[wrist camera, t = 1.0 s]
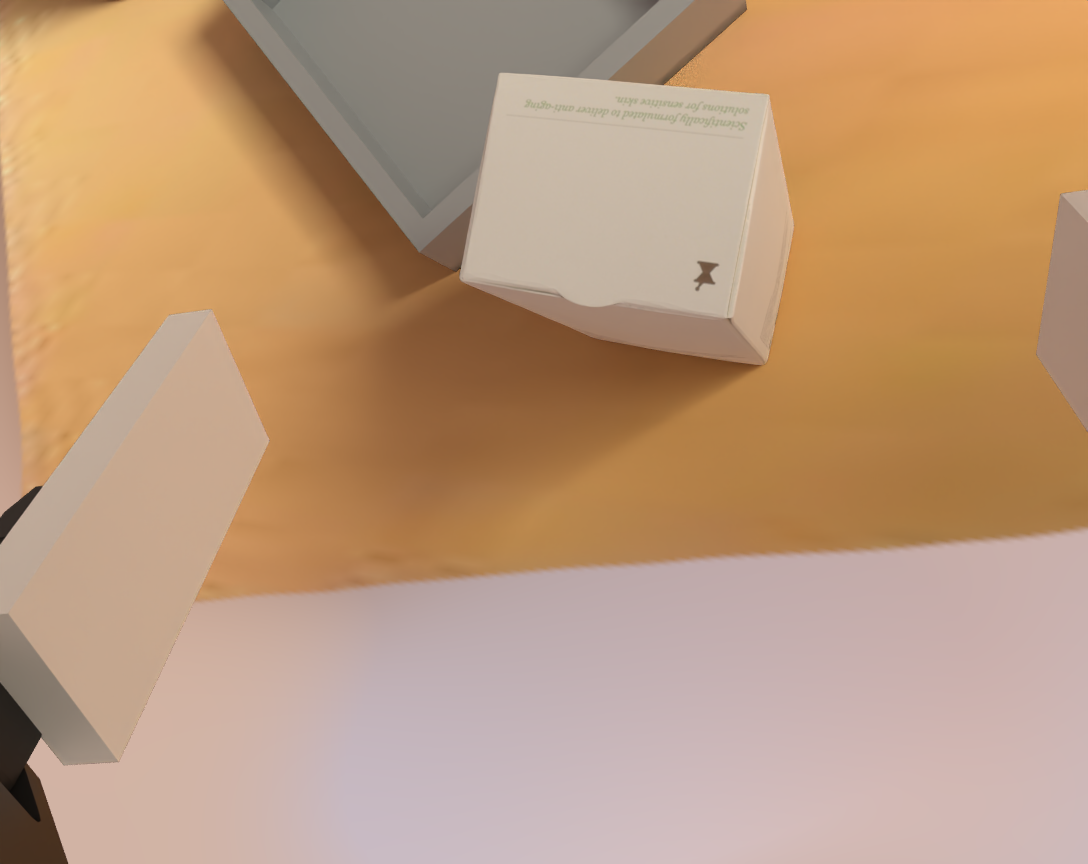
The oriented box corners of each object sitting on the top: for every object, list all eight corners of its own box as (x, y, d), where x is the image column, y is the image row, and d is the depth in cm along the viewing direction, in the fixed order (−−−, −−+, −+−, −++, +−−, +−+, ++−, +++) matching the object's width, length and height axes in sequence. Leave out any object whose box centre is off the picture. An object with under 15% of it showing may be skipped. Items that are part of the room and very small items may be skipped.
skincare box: (797, 224, 40) (791, 84, 25) (766, 378, 40) (741, 331, 25) (605, 198, 42) (495, 56, 27) (577, 344, 42) (451, 283, 27)
